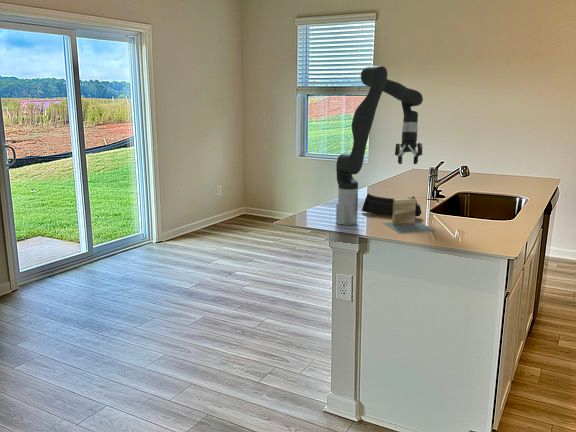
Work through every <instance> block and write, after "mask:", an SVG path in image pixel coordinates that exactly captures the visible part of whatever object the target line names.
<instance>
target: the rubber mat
mask: <svg viewBox="0 0 576 432" xmlns="http://www.w3.org/2000/svg"><path fill="white" fill-rule="evenodd" d="M382 224H383V225H384V226H386V227H388V228H389V229H391V230H392V231H395V232H396V233H397V234H413V233H415V234H416V233H428V232H437V230H436V229H434V228H431V227H430V226H428V225H426V224H424V223H422V222H420V221H418V220H415V224H410V225H393V224H392V221H391V222H382Z"/></svg>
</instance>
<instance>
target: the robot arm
mask: <svg viewBox="0 0 576 432" xmlns="http://www.w3.org/2000/svg"><path fill="white" fill-rule="evenodd" d="M360 80H361V82H362V84H363V85H364V86H366V87H369V90H368V93H367V95H366V96H365V97H364V99H363V100H362V101H361V103H359V105H358V106H357V108H356V109H355V111H354V115H353V117H352V121H351V134H352V137H353V143H352V149H351V152H350V153H345V152H344V153H341V154H339V155H338V157H337V159H336V164H335V167H336V168H335V169H336V171H335V172H336V181H337V186H338V187H337V188H338V193H337V194H338V195H337V196H338V197H337V198H338V199H337V201H338V202H337V203H336V209H335V211H336V212H335V215H336V216H335V223H336V224H338V223H340V224H339V225H341V224H343V225H342V226H355V225H357V224H358V206H359V205H358V201H359V198H358V197H359V183H358V180H356V179H355V178H354V177H353V175H357V174H359V172H360V171H361V170H362V167H363V164H364V160H365V159H364V158H365V155H366V153H365V152H366V149H367V144H368V139H369V135H370V133H371V129H372V125H373V122H374V119H375V116H376V111H377V107H378V106H379V105H378V104H379V102H380V99H381V96H382V94H383V93H385V94H387V95H389V96H391V97H393V98H395V99H396V100H398V101H401V107H402V112H403V119H402V122H403V124H402V130H401V143H396V144H395V149H394V155H395V156H397V157H398V158H397V163H398V165H402V164H403V155H404V154H406V153H412V154H413V165H417V164H418V162H419V157H420V156H423V143H422V142H421V143H420V142H418V143H417V141H418V131H419V130H418V129H419V128H418V123H419V122H418V120H419V113H418V112H417V111H416V110H412V107H418V106H420V105H422V103H423V100H424V98H423V94H422V93H421V92H420V91H418V90H416V89H413V88H409V87H407V86H405V85H403V84H401V83H399V81H398V82H397V81H395V80H391V79H388V70H387V68H386V67H385V66H383V65H370V66H366V67H364V68H363V69H362V70H361V73H360ZM416 148H417V149H416Z"/></svg>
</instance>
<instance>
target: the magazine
mask: <svg viewBox="0 0 576 432" xmlns="http://www.w3.org/2000/svg"><path fill="white" fill-rule="evenodd" d="M411 198H414V199H416V198H415V196H412V197H411ZM393 199H394V198H389V197H382V196H376V195H373V194H370V193H367V194H366V196H365V200H364V202H363V205H362V208H361V212H364V213H369V214H371V215H372V214H373V215H377V216H385V217H386V216H387V217H388V216H389V217H393ZM421 215H422V210H421V205H420V204H419V203H418V200H417V199H416V209H415V218H416V217H421Z"/></svg>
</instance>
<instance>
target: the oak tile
mask: <svg viewBox="0 0 576 432" xmlns="http://www.w3.org/2000/svg"><path fill="white" fill-rule="evenodd" d="M392 199H393V216H392V217H391V218H392V220H391V222H392V224H393V225H410V224H415V221H416V217H415V209H416V200H417V198H415V199H414V198H412V197H408V198H407V197H406V198H392Z"/></svg>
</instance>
